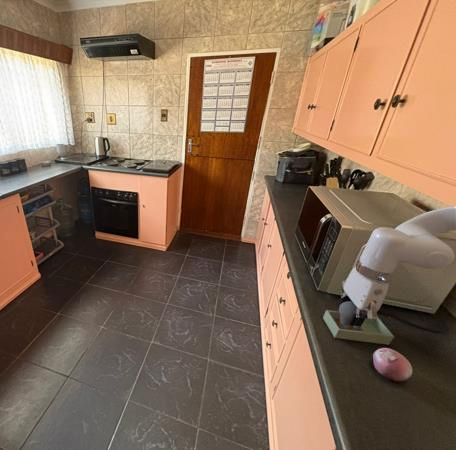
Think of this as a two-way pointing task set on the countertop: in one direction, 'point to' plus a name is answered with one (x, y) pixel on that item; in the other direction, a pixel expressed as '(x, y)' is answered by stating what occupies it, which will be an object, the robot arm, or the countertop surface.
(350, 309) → the light bulb
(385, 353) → the onion
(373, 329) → the tray
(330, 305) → the countertop surface
